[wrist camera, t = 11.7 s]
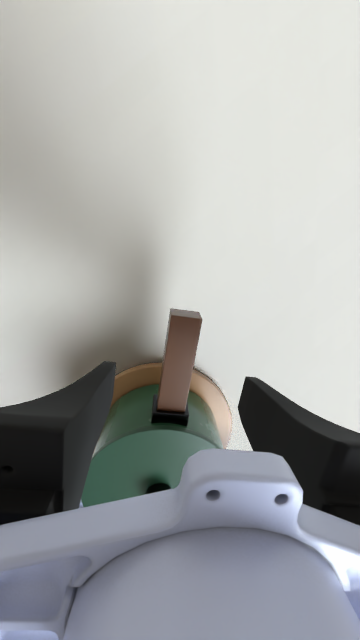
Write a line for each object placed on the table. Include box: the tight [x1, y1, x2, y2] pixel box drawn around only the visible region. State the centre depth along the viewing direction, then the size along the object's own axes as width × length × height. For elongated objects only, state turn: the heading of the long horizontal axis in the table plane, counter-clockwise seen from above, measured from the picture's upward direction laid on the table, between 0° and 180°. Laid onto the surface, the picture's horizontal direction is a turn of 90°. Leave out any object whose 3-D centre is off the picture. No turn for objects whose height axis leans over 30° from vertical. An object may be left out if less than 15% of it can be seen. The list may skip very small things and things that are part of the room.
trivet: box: [93, 362, 232, 454], centre depth 25 cm, size 14×14×1 cm
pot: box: [81, 309, 224, 507], centre depth 20 cm, size 19×11×7 cm, turn 171°
